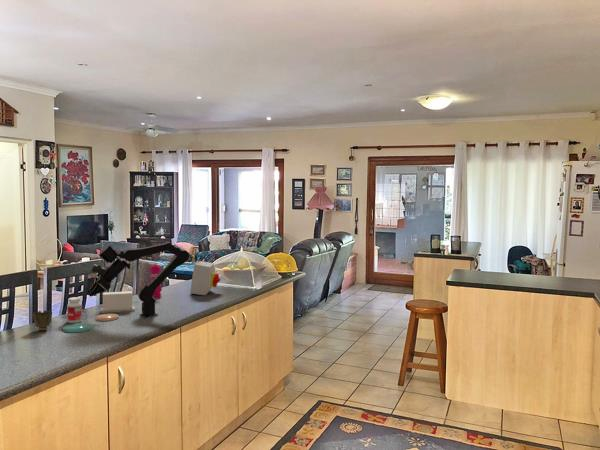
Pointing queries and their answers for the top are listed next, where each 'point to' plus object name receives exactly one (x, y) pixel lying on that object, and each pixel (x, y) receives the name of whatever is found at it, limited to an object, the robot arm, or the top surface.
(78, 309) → the pill bottle
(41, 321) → the cup
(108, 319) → the terracotta plate
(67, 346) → the top surface
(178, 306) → the top surface
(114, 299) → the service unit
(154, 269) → the pepper mill
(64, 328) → the teal plate
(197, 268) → the electrical switch box
